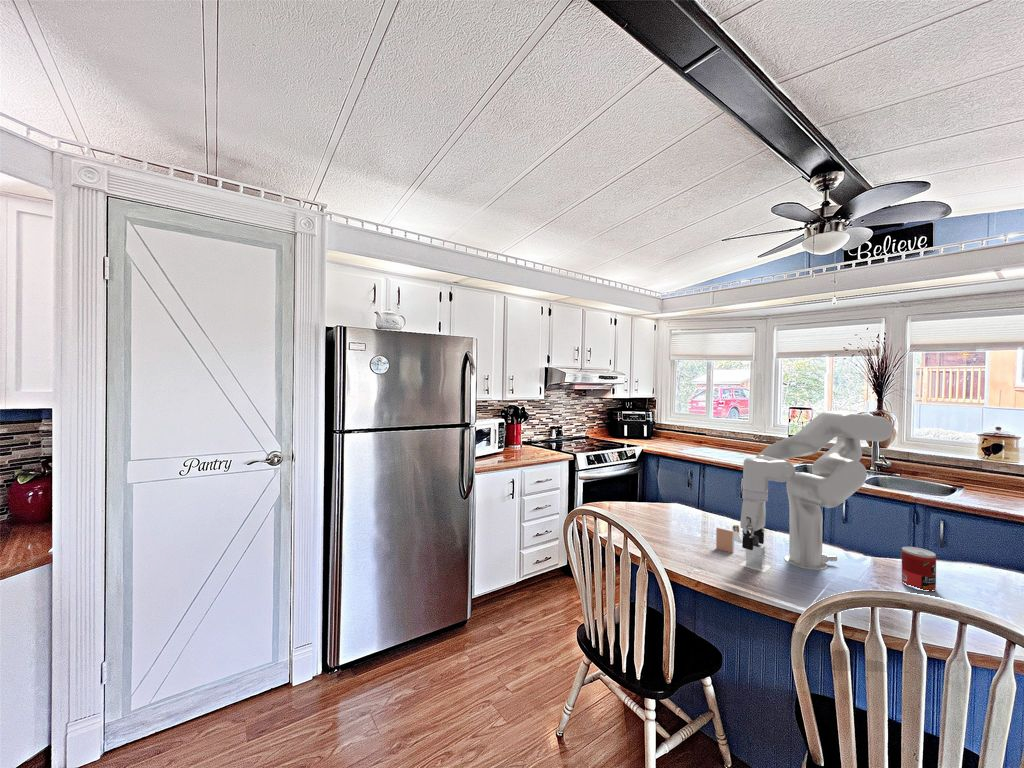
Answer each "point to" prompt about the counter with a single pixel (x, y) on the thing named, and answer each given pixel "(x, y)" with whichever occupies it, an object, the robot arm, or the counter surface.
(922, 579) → the canned food
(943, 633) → the counter surface
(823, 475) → the robot arm
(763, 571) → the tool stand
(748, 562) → the steel turner
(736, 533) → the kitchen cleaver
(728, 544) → the tile
